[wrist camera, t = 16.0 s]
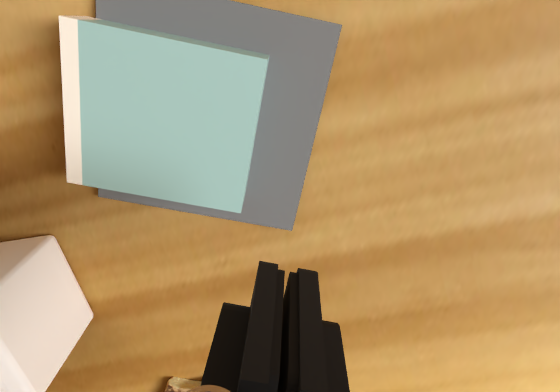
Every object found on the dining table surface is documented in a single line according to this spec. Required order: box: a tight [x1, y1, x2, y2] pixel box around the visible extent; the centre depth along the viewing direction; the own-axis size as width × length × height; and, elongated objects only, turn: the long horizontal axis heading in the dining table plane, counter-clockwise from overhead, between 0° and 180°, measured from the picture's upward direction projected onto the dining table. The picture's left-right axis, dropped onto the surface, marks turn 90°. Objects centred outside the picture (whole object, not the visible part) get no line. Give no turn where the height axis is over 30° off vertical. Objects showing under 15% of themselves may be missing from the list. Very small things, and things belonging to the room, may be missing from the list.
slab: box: [59, 16, 269, 213], centre depth 19 cm, size 2×8×9 cm
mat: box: [96, 0, 342, 231], centre depth 21 cm, size 12×12×1 cm
